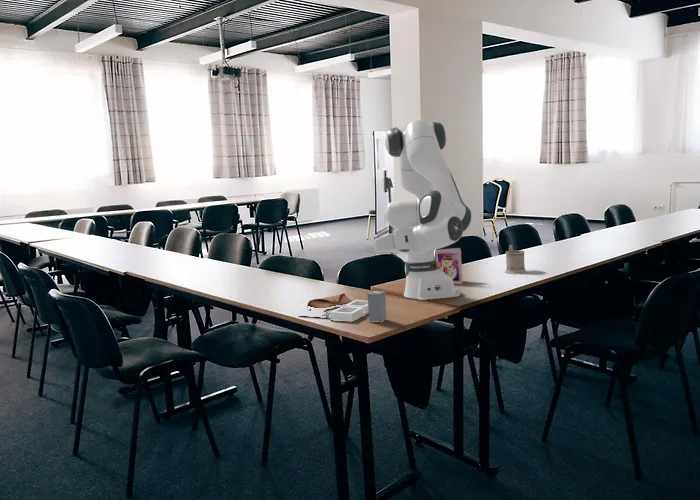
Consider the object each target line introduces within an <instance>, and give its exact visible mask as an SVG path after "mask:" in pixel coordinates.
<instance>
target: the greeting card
mask: <svg viewBox="0 0 700 500" xmlns="http://www.w3.org/2000/svg"><path fill="white" fill-rule="evenodd" d="M434 251H435V253H434V254H435V255H434V256H435V260H436V261H438V262H440V263H441V266H440V267H439V268H438V269H440V270H441V271H443V272H444V273H445V274H447V275H448V276H450V277H451V278H452V280H453V283H454V285H463V271H462V265H463V264H462V250H461V247H454V248H440V249H434Z"/></svg>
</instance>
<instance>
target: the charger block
mask: <svg viewBox="0 0 700 500" xmlns="http://www.w3.org/2000/svg"><path fill="white" fill-rule="evenodd" d="M366 295H367V301H368V311H369V314H368V322H369V321H379V322H381V321H383V320H385V319H386V318H387V303H386V291H385V290H384V291H382V290H372V291H370V292H368V293H367V294H366Z"/></svg>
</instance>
